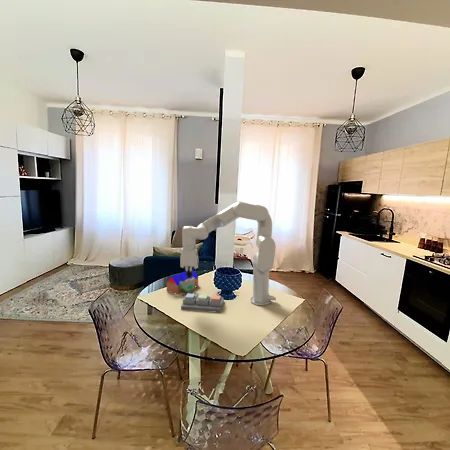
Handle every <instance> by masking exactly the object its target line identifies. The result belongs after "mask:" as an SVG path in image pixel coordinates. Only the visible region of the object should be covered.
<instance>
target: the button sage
mask: <svg viewBox="0 0 450 450" xmlns="http://www.w3.org/2000/svg"><path fill="white" fill-rule="evenodd" d="M198 296H199V297H198ZM198 296H197V297H198V300H204V301H207V299H208V296H209V294H203V293H201V294H199V295H198Z"/></svg>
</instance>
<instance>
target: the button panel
mask: <svg viewBox="0 0 450 450" xmlns="http://www.w3.org/2000/svg"><path fill="white" fill-rule="evenodd" d="M198 297H199V295H196V294H195V298H194V300H190V299H185V296H184V297H183V299H182V304H181V305H180V310H184V311H185V310H186V311H199V312H209V311H216V312H215V313H221V311H220V310H222V308H223V305H224V303H223V302H225V299H224V297H223V296H221V301H220V302H218V301H211V298H212V296H210V295H208V299H207V301H204V300H198ZM221 307H222V308H221Z"/></svg>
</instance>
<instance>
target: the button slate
mask: <svg viewBox="0 0 450 450" xmlns="http://www.w3.org/2000/svg"><path fill="white" fill-rule="evenodd" d="M195 295H196V293H193V294H190V293H187V295H186V296H184V297H185V299H190V300H194V298H195Z"/></svg>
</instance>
